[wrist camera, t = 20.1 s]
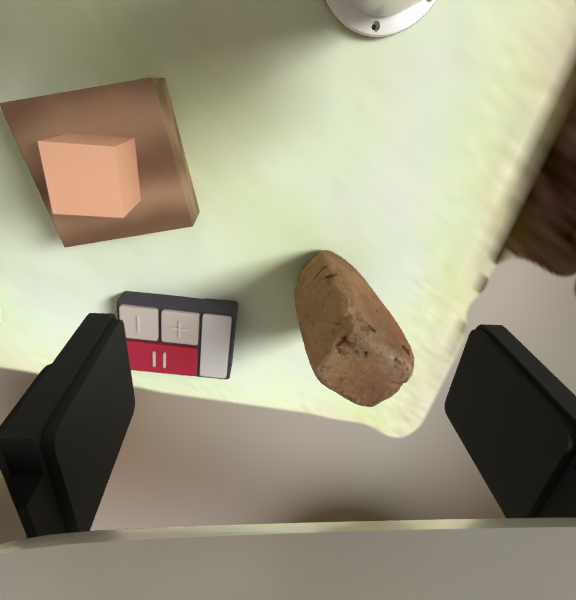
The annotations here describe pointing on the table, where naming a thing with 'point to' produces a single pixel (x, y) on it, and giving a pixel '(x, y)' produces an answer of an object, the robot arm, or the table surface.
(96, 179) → the terracotta cube
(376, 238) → the table surface
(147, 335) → the calculator
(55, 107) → the walnut block
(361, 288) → the brown rock
